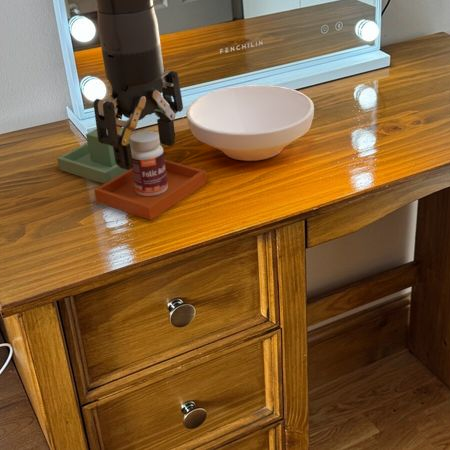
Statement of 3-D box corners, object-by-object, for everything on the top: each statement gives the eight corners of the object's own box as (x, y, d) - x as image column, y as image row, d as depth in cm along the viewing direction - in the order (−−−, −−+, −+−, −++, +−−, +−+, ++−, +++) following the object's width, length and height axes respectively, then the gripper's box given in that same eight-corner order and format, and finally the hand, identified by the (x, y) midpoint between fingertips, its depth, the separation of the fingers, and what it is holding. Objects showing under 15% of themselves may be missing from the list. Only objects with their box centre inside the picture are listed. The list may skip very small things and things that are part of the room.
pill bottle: (146, 200, 107) (138, 146, 102) (128, 189, 110) (119, 135, 105) (175, 189, 109) (168, 135, 105) (156, 178, 112) (149, 125, 108)
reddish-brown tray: (150, 220, 103) (148, 207, 102) (96, 202, 108) (94, 189, 107) (207, 183, 112) (205, 170, 111) (154, 167, 117) (152, 155, 116)
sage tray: (107, 185, 112) (105, 173, 111) (59, 169, 117) (56, 157, 116) (162, 153, 121) (161, 141, 120) (115, 140, 126) (113, 128, 125)
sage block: (111, 167, 116) (107, 140, 114) (90, 160, 118) (85, 134, 116) (132, 155, 119) (128, 129, 117) (111, 149, 121) (106, 123, 119)
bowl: (207, 188, 110) (202, 143, 107) (179, 136, 126) (174, 95, 122) (333, 164, 116) (333, 120, 112) (291, 117, 131) (289, 77, 128)
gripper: (146, 23, 105) (161, 132, 114) (68, 53, 95) (90, 170, 103) (188, 31, 102) (200, 142, 110) (112, 63, 92) (131, 183, 100)
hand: (147, 155), depth 107 cm, fingers open, 8 cm apart
